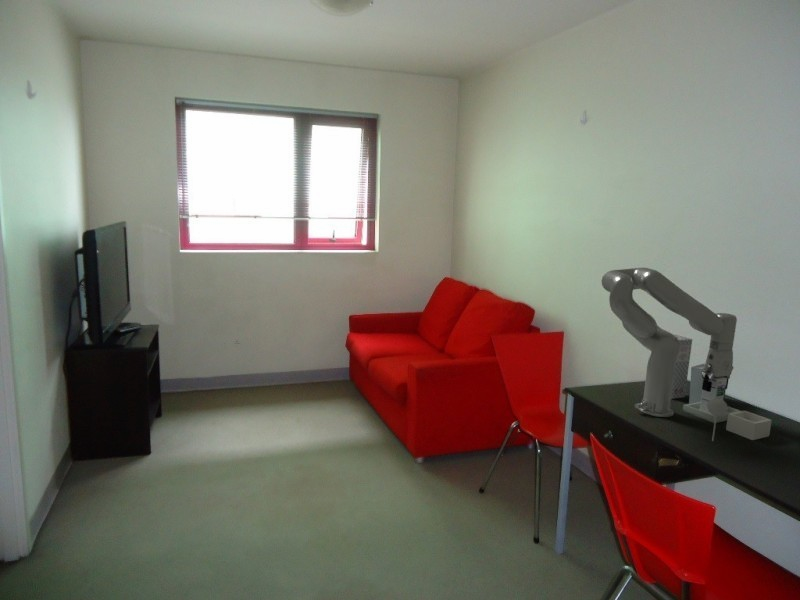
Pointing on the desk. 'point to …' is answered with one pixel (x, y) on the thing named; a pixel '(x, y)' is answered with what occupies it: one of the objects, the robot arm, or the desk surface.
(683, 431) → the desk surface
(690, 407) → the tray
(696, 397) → the skincare box
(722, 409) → the lollipop
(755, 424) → the white open storage bin
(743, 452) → the desk surface
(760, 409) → the desk surface
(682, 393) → the box
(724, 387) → the syrup box
